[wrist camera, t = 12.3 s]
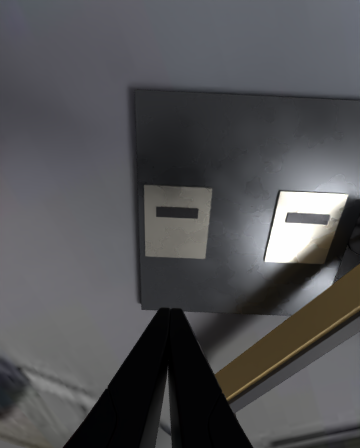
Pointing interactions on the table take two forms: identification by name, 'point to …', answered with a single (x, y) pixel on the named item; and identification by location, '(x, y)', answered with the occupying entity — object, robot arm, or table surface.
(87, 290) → the table surface
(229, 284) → the panel
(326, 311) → the swing arm
